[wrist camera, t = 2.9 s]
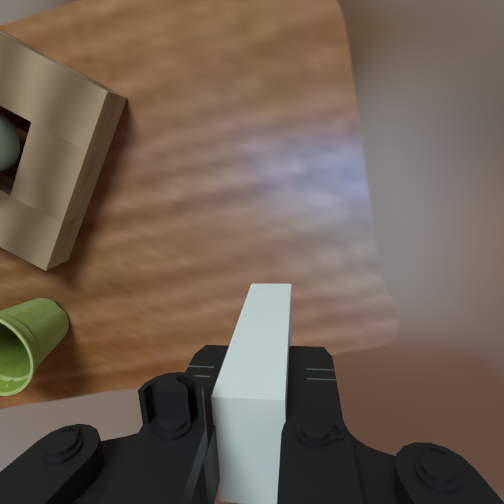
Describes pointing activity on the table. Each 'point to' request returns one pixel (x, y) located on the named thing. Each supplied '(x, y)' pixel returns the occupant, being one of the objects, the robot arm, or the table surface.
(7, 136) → the pale mint egg
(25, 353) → the plant pot
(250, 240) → the table surface
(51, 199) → the dock
